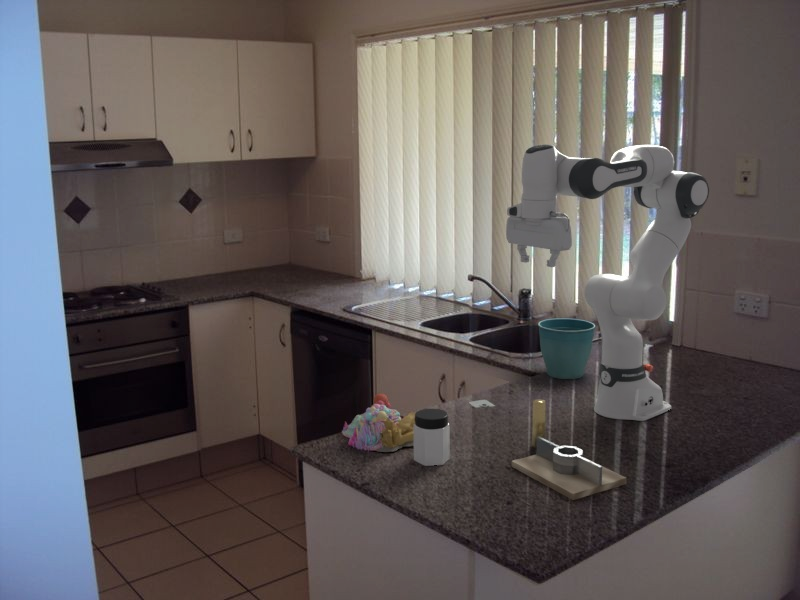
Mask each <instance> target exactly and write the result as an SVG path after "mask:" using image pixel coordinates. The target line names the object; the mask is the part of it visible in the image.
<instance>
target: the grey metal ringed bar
mask: <svg viewBox="0 0 800 600" xmlns="http://www.w3.org/2000/svg"><path fill="white" fill-rule="evenodd" d="M536 454H537V455H539V456H541V457H543V458H545V459H547V460H549V461H551V462H553V470H554V471H556V472H557V473H559V474H564V475H575V474H576V475H578V476H580V477H582V478H584V479H586V480H588V481H590V482H592V483H594V484H596V485H598V486H601V485H602V465H601V466H600V464H599V463H596V462H594V461H592V460H590V459H588V458H586V457H584V451H583V449H581V448H579V447H577V446H574V445H558V444H556V443H555V442H552V441H550V440H548V439H546V438H545V439H544V438H542V437H540V436H539V437H537V448H536ZM583 457H584V458H583ZM598 464H599V465H598Z"/></svg>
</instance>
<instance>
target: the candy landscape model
mask: <svg viewBox="0 0 800 600" xmlns="http://www.w3.org/2000/svg"><path fill="white" fill-rule="evenodd" d="M391 408H392V407H391V403H390V402H389V399H388V396H387V395H386V394H384V393H378V394H376V395H375V396H374V397H373V404H372V405H371V407H367V408H366V409H365V412H364V413H361V414H357V415H356V416H355V417H354V418H353V419H352V421H351V423H349V424H348V423H347V421H344V425H343V429H342V430H341V434H342V436H344V437H346V438H349V440H348V442H347V443H348V444H347V445H348V446H350V447H353V449H354V448H356V449H357V451H359V450H360V451H361V452H363V451H367V452H368V453H370V452H369V451H376V452H380V453H382V452H383V453H389V452H396V451H398V449H399V450H400V449H401V448H403V447H414V431H413V425H414V424H415V413H416V412H413V411H410V412H409V413H408V414H407V415H406V416H403V415H401V414H400V413H401V412H399V411H398V410H397V409H394V408H393V409H391Z"/></svg>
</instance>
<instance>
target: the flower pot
mask: <svg viewBox="0 0 800 600" xmlns="http://www.w3.org/2000/svg"><path fill="white" fill-rule="evenodd" d="M537 326H538V334H539V346H540V352H541V356H542V359H543V362H544V365H545V369H546V375H548V376H549V377H552V378H555V379H561V380H575V379H580V378H582V377H583V376H585V375H584V374H585V369H586V366H587V364H588V361H589V359H590V356H591V352H592V349H593V343H594V342H593V340H594V334H595V328H596V325H595V323H594V322H591V321H589V320H584V319H578V318H567V317H566V318H548V319H544V320H541V321H539V322H538V324H537Z"/></svg>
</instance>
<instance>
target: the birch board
mask: <svg viewBox="0 0 800 600" xmlns="http://www.w3.org/2000/svg"><path fill="white" fill-rule="evenodd" d="M583 458H585V457H584V456H583ZM597 464H598V465H600V464H599V463H597ZM600 466H602V465H600ZM511 468H513V469H515V470H517V471H519V472H521V473H522V474H525V475H527V476H528V477H530V478H532V479H533V480H535V481H537V482H539V483H541V484H543V485H545V486H546V487H548V488H550V489H552V490H554V491H555V492H557V493H559V494H560V495H563V496H564V497H567V498H568V499H569V500H572V501H575V500H578V499H581V498H585V497H588V496H591V495H595V494H598V493H601V492H604V491H608V490H611V489H614V488H618V487H622V486H624V485H627V481H628V480H627V477H626V476H624V475H621V474H619V473H617V472H615V471H612V470H611V469H609V468H607V467H605V466H602V485H601V486H598V485H596V484H594V483H592V482H590V481H588V480H586V479H584V478H582V477H580V476H578V475H576V474H575V475H564V474H559V473H557V472H556V471H554V470H553V462H551V461H549V460H547V459H545V458H543V457H541V456H539V455H537V453H536V454H533V455H528V456H525V457H520V458H518V459H514V460H511Z"/></svg>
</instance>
